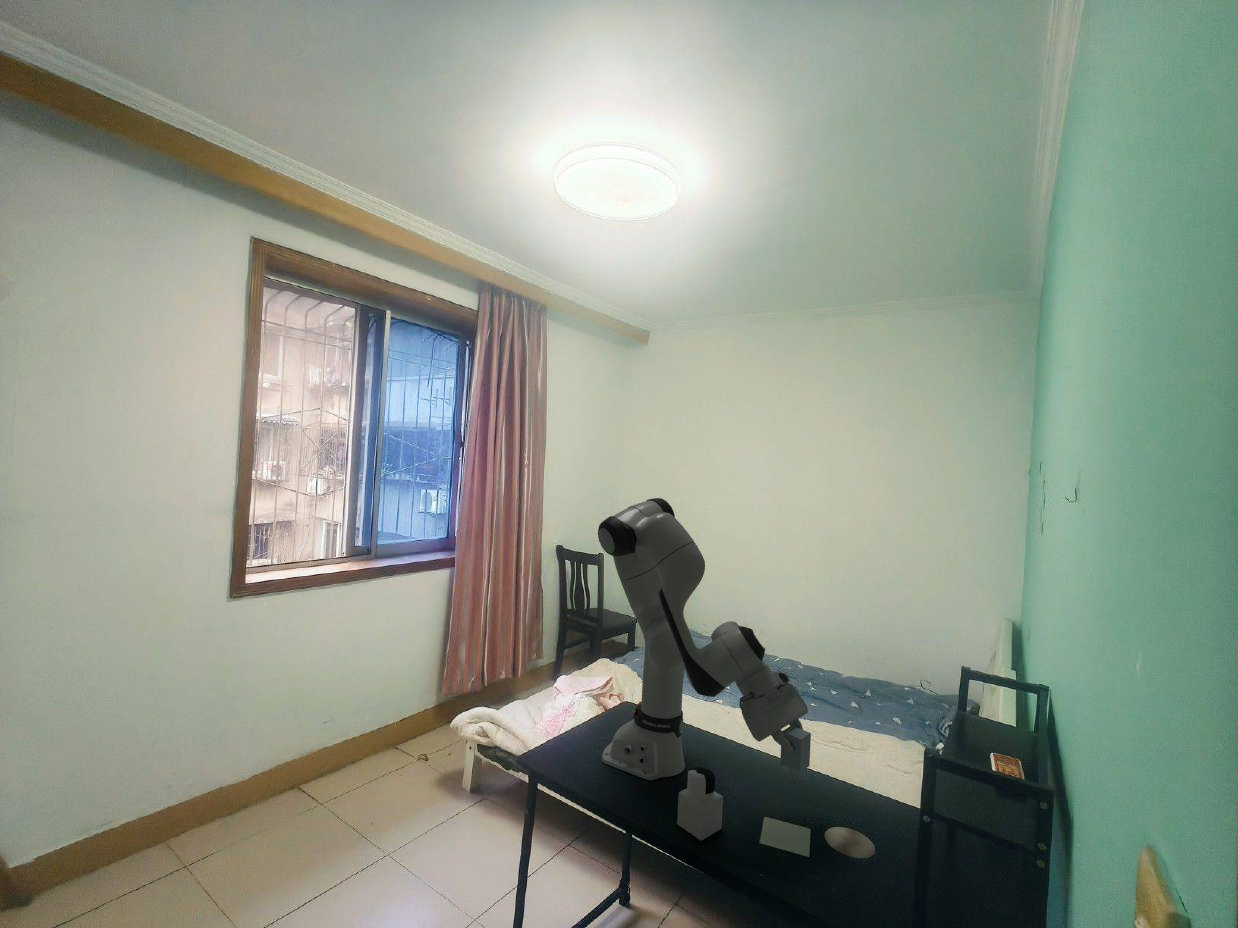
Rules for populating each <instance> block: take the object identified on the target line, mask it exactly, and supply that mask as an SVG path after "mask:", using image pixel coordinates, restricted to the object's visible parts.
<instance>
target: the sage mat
mask: <svg viewBox="0 0 1238 928" xmlns="http://www.w3.org/2000/svg"><path fill="white" fill-rule="evenodd" d="M759 844H761V845H765V846H769V847H771V848H776V849H779V850H782V851H786V852H790V853H793V854H798V855H799V856H804V857H807V858H810V851H811V850H810V847H811V828H809V827H804V826H801V825H797V824H793V823H790V822H785V821H782V820H779V819H775V818H771V817H766V816H764V817H763V821H762V829H761V832H760V838H759Z"/></svg>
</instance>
